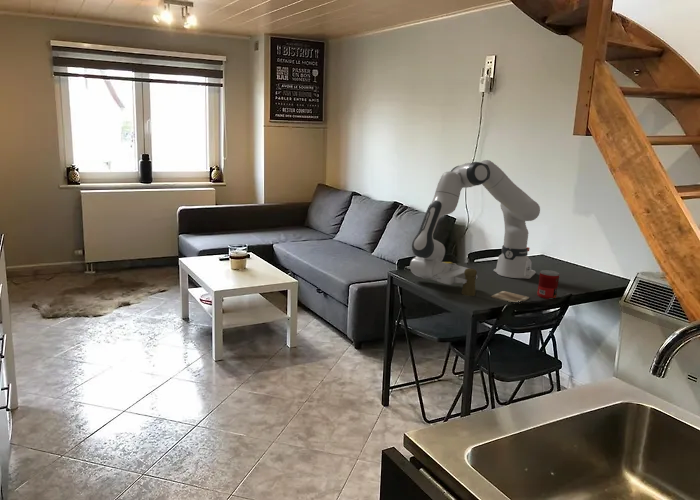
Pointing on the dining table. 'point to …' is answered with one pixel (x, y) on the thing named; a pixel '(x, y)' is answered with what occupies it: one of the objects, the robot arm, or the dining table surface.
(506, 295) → the coaster
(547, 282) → the canned food
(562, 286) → the dining table surface
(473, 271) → the cork
